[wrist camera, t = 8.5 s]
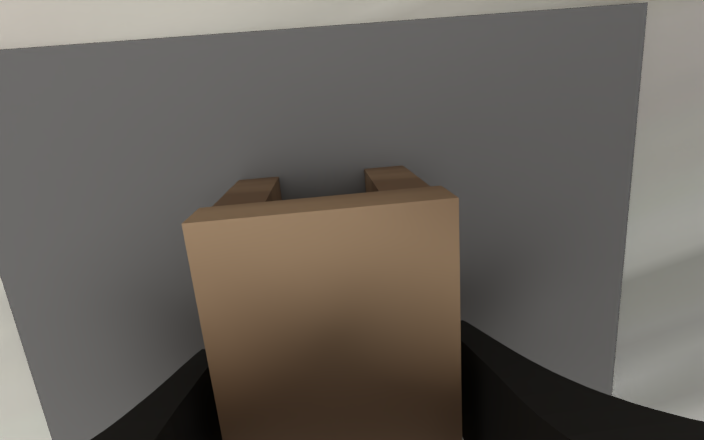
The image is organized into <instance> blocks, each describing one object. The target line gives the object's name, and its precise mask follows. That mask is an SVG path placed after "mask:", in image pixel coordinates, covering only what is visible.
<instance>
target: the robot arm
mask: <svg viewBox="0 0 704 440" xmlns="http://www.w3.org/2000/svg"><path fill="white" fill-rule="evenodd" d="M461 391H462V437H463V439H464V440H704V422H703V421H698V420H693V419H689V418H685V417H681V416H677V415H673V414H670V413H666V412H662V411H658V410H654V409H651V408H648V407H644V406H641V405H637V404H634V403H631V402H628V401H625V400H622V399H619V398H616V397H613V396H610V395H608V394H605V393H602V392H599V391H597V390H594V389H591V388H589V387H586V386H584V385H582V384H579V383H577V382H575V381H572V380H570V379H568V378H565V377H563V376H561V375H559V374H557V373H554V372H552V371H550V370H548V369H546V368H544V367H542V366H541V365H539V364H537V363H535V362H533V361H531V360H529V359H527V358H526V357H524V356H522V355H520V354H518V353H517V352H515V351H513V350H512V349H510V348H508V347H507V346H505V345H503V344H502V343H500V342H498V341H497V340H495V339H493V338H492V337H490V336H489V335H487V334H486V333H484V332H482V331H481V330H479V329H478V328H476V327H474V326H473V325H471V324H469V323H468V322H466V321H464V320H461ZM91 440H222V435H221V429H220V424H219V419H218V414H217V408H216V403H215V398H214V392H213V387H212V382H211V377H210V371H209V366H208V361H207V356H206V350H205V349H201V350H200V351H199V352H198V353H196V354H195V355H194V356H193V357H192V358H190V359H189V360H188V361H187V362H186V363H185V364H184V365H183V366H182V367H180V368H179V369H178V370H177V371H176V372H175V373H174V374H173V375H172V376H170V377H169V378H168V379H167V380H166V381H165V382H164V383H162V384H161V385H160V386H159V387H158V388H157V389H156V390H155V391H153V392H152V393H151V394H150V395H149V396H147V397H146V398H145V399H144V400H142V401H141V402H140V403H139V404H137V405H136V406H135V407H134V408H133V409H131V410H130V411H129V412H128V413H126V414H125V415H124V416H123V417H121V418H120V419H119V420H117V421H116V422H115V423H113V424H112V425H111V426H109V427H108V428H107V429H105V430H104V431H102V432H101V433H99V434H98V435H96V436H95V437H94V438H92V439H91Z"/></svg>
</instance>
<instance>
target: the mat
mask: <svg viewBox="0 0 704 440" xmlns="http://www.w3.org/2000/svg"><path fill="white" fill-rule="evenodd" d="M647 5H648V3H634V4H621V5H607V6H593V7H580V8H566V9H552V10H538V11H525V12H511V13H497V14H484V15H470V16H456V17H443V18H429V19H415V20H402V21H388V22H374V23H360V24H347V25H333V26H319V27H306V28H292V29H278V30H265V31H251V32H237V33H224V34H210V35H196V36H182V37H169V38H155V39H141V40H128V41H114V42H100V43H87V44H73V45H59V46H46V47H32V48H18V49H4V50H0V276H1V279H2V282H3V285H4V289H5V292H6V295H7V298H8V301H9V304H10V308H11V311H12V314H13V317H14V320H15V323H16V327H17V330H18V333H19V336H20V339H21V342H22V346H23V349H24V352H25V355H26V358H27V361H28V365H29V368H30V371H31V374H32V377H33V380H34V384H35V387H36V390H37V393H38V396H39V399H40V403H41V406H42V409H43V412H44V415H45V418H46V422H47V425H48V428H49V431H50V434H51V437H52V440H91V439H92V438H94V437H95V436H96V435H98V434H99V433H101V432H102V431H104V430H105V429H107V428H108V427H109V426H111V425H112V424H113V423H115V422H116V421H117V420H119V419H120V418H121V417H123V416H124V415H125V414H126V413H128V412H129V411H130V410H131V409H133V408H134V407H135V406H136V405H137V404H139V403H140V402H141V401H142V400H144V399H145V398H146V397H147V396H149V395H150V394H151V393H152V392H153V391H155V390H156V389H157V388H158V387H159V386H160V385H161V384H162V383H164V382H165V381H166V380H167V379H168V378H169V377H170V376H172V375H173V374H174V373H175V372H176V371H177V370H178V369H179V368H180V367H182V366H183V365H184V364H185V363H186V362H187V361H188V360H189V359H190V358H192V357H193V356H194V355H195V354H196V353H198V352H199V351H200V350H201V349H205V345H204V340H203V335H202V329H201V324H200V319H199V314H198V308H197V303H196V298H195V292H194V287H193V282H192V277H191V271H190V266H189V261H188V256H187V250H186V245H185V240H184V235H183V229H182V223H183V222H184V221H185V220H186V219H187V218H188V217H190V216H191V215H192V214H193V213H194V212H195V211H196V210H197V209H199V208H203V207H212V206H213V205H214V204H215V203H216V202H217V201H218V200H219V199H220V198H221V197H222V196H223V195H224V194H225V193H226V192H227V191H228V190H229V189H230V188H231V187H232V186H233V185H234V184H235V183H236V182H237V181H238V180H245V179H257V178H268V177H279V182H280V190H281V198H282V200H290V199H301V198H311V197H322V196H333V195H344V194H355V193H366V188H365V174H364V169H368V168H379V167H390V166H402V165H403V166H404V167H406V168H407V169H408V170H410V171H411V172H412V173H414V174H415V175H416V176H417V177H419V178H420V179H421V180H423V181H424V182H425V183H427V184H428V185H429V186H443V187H444V188H446V189H447V190H448V191H450V192H451V193H453V194H454V195H456V196H457V197H459V247H460V319H461V320H464V321H466V322H468V323H469V324H471V325H473V326H474V327H476V328H478V329H479V330H481V331H482V332H484V333H486V334H487V335H489V336H490V337H492V338H493V339H495V340H497V341H498V342H500V343H502V344H503V345H505V346H507V347H508V348H510V349H512V350H513V351H515V352H517V353H518V354H520V355H522V356H524V357H526V358H527V359H529V360H531V361H533V362H535V363H537V364H539V365H541V366H542V367H544V368H546V369H548V370H550V371H552V372H554V373H557V374H559V375H561V376H563V377H565V378H568V379H570V380H572V381H575V382H577V383H579V384H582V385H584V386H586V387H589V388H591V389H594V390H597V391H599V392H602V393H605V394H608V395H610V396H611V395H612V385H613V374H614V363H615V352H616V341H617V330H618V319H619V309H620V298H621V287H622V276H623V265H624V254H625V243H626V233H627V222H628V211H629V200H630V189H631V178H632V167H633V157H634V146H635V135H636V124H637V113H638V102H639V91H640V81H641V70H642V59H643V48H644V37H645V26H646V15H647ZM462 440H464V439H463V437H462Z"/></svg>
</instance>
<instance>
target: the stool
mask: <svg viewBox="0 0 704 440" xmlns="http://www.w3.org/2000/svg"><path fill="white" fill-rule="evenodd" d="M364 174H365V188H366V193H355V194H344V195H333V196H322V197H311V198H301V199H290V200H282V198H281V190H280V182H279V177H268V178H257V179H245V180H238V181H237V182H236V183H235V184H234V185H233V186H232V187H231V188H230V189H229V190H228V191H227V192H226V193H225V194H224V195H223V196H222V197H221V198H220V199H219V200H218V201H217V202H216V203H215V204H214V205H213V206H212V207H203V208H199V209H197V210H196V211H195V212H194V213H193V214H192V215H191V216H190V217H188V218H187V219H186V220H185V221H184V222H183V223H182V229H183V235H184V240H185V245H186V250H187V256H188V261H189V266H190V271H191V277H192V282H193V287H194V292H195V298H196V303H197V308H198V314H199V319H200V324H201V329H202V335H203V340H204V345H205V350H206V356H207V361H208V366H209V371H210V377H211V382H212V387H213V392H214V398H215V403H216V408H217V414H218V419H219V424H220V429H221V435H222V440H462V391H461V319H460V247H459V197H457V196H456V195H454V194H453V193H451V192H450V191H448V190H447V189H446V188H444V187H443V186H429V185H428V184H427V183H425V182H424V181H423V180H421V179H420V178H419V177H417V176H416V175H415V174H414V173H412V172H411V171H410V170H408V169H407V168H406V167H404V166H403V165H402V166H390V167H379V168H368V169H364Z"/></svg>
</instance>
